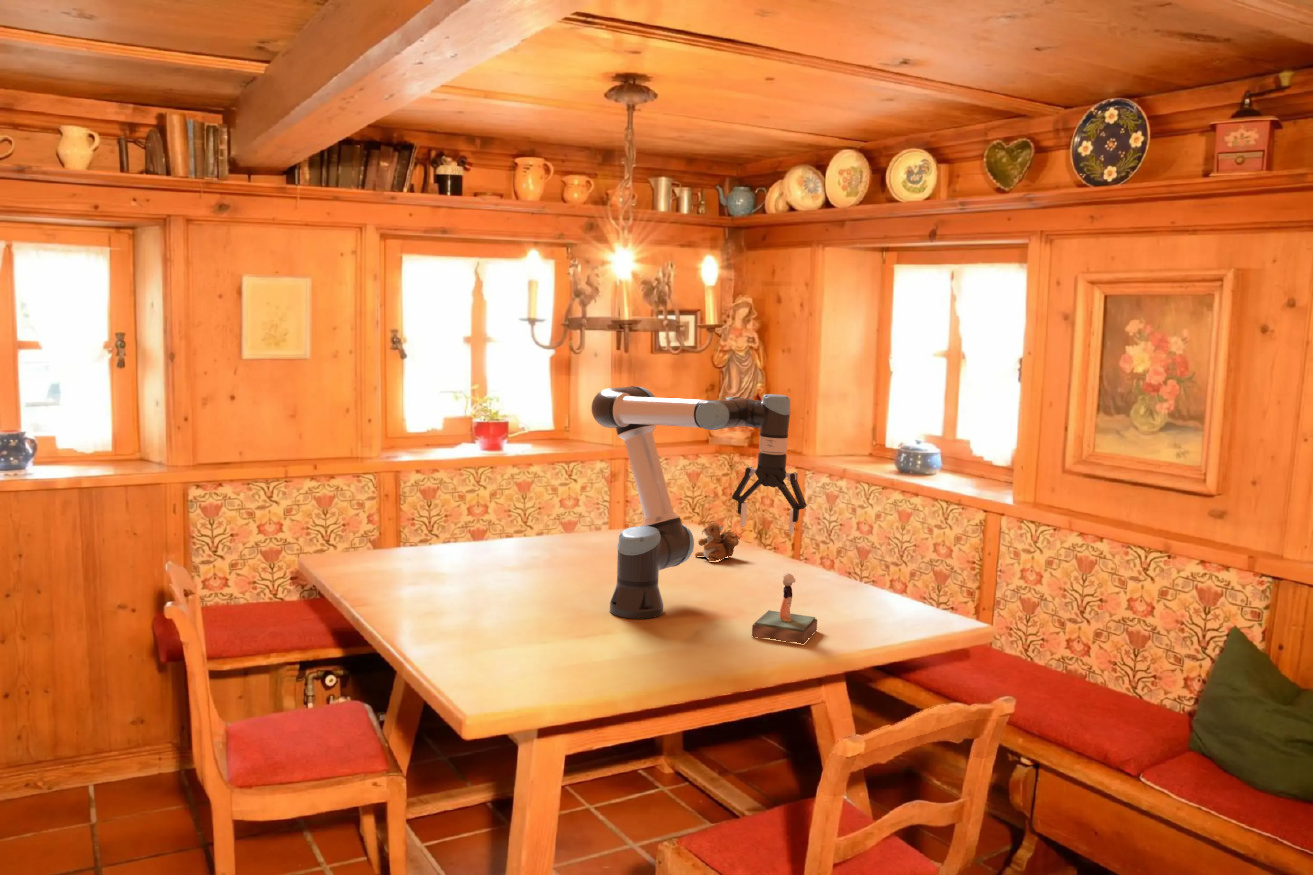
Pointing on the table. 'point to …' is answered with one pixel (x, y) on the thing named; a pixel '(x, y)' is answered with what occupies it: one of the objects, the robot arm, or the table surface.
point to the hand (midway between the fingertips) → (766, 529)
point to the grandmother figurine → (786, 598)
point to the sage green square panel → (784, 627)
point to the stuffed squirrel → (717, 542)
